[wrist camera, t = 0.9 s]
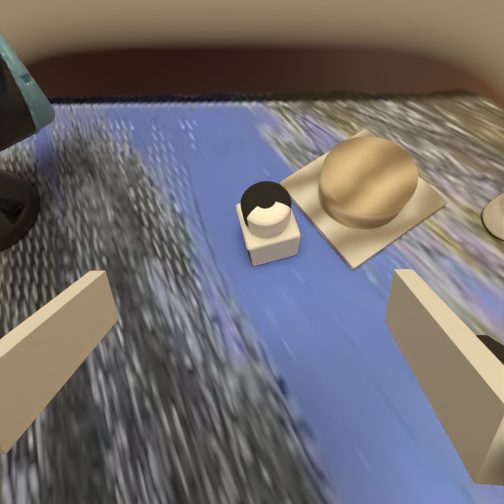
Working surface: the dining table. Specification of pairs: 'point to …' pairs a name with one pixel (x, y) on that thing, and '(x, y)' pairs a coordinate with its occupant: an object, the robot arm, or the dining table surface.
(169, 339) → the dining table surface
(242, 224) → the medicine bottle
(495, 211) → the water bottle
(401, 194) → the post stand
